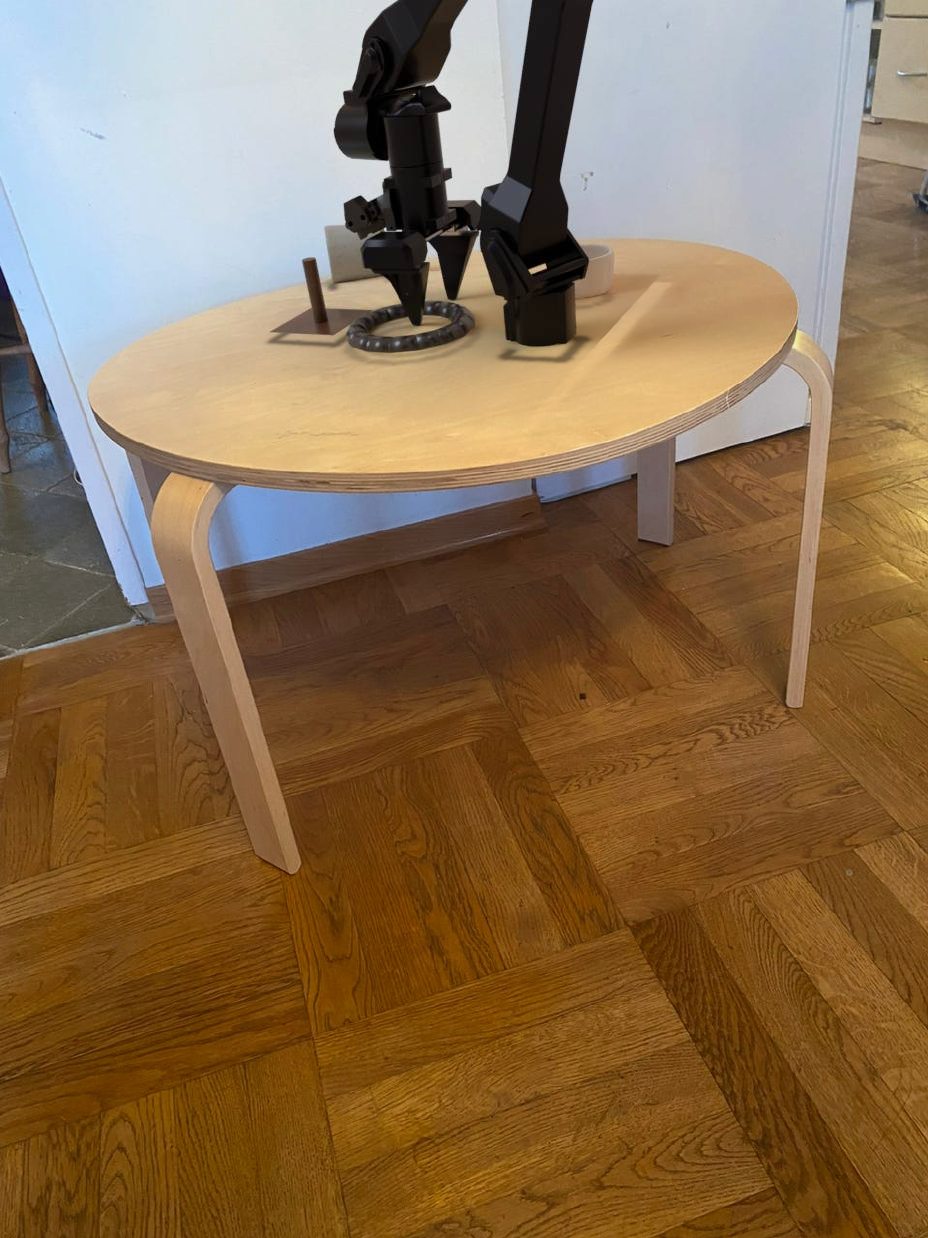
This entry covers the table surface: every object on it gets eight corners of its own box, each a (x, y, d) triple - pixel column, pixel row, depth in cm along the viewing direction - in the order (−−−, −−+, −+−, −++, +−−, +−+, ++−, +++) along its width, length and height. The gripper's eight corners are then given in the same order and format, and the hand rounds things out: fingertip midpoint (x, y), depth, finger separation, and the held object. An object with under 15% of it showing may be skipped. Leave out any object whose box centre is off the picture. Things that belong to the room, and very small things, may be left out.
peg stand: (374, 319, 105) (362, 248, 100) (334, 345, 99) (320, 270, 94) (312, 317, 109) (298, 248, 104) (271, 341, 103) (253, 269, 98)
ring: (496, 320, 100) (494, 299, 98) (440, 366, 90) (437, 343, 88) (388, 316, 106) (385, 296, 104) (324, 359, 95) (320, 337, 94)
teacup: (621, 304, 99) (620, 255, 96) (554, 313, 99) (552, 264, 96) (602, 281, 108) (601, 235, 104) (541, 289, 108) (538, 244, 104)
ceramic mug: (394, 283, 117) (385, 222, 113) (334, 293, 116) (322, 232, 112) (385, 266, 126) (377, 209, 121) (329, 275, 125) (319, 218, 120)
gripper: (393, 149, 102) (412, 286, 111) (304, 183, 89) (334, 335, 98) (479, 144, 97) (491, 287, 106) (399, 180, 84) (421, 340, 93)
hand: (435, 311), depth 101 cm, fingers open, 9 cm apart
